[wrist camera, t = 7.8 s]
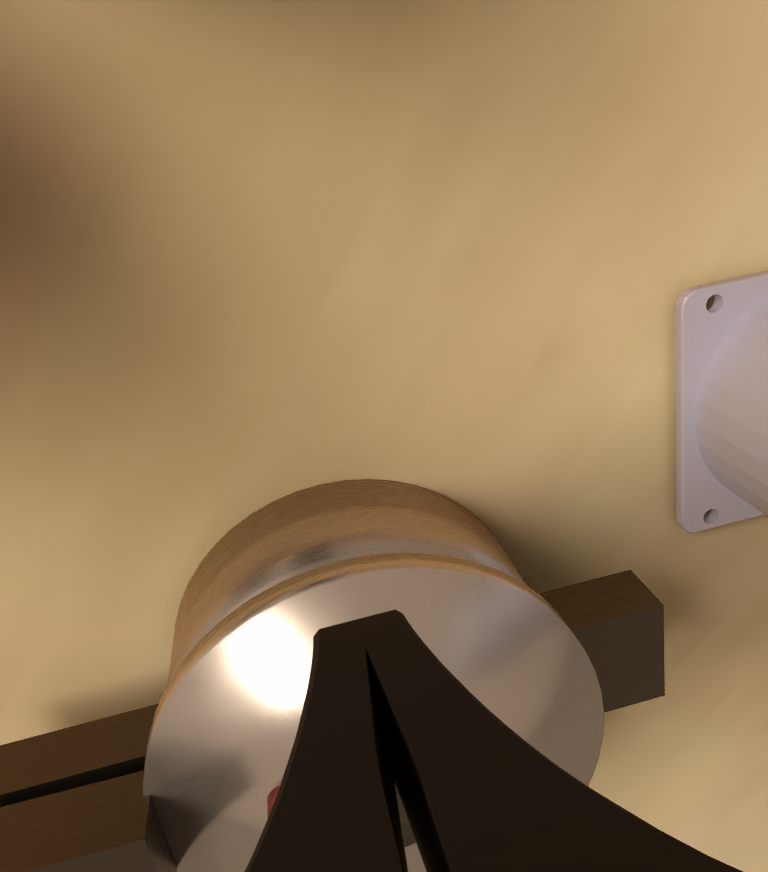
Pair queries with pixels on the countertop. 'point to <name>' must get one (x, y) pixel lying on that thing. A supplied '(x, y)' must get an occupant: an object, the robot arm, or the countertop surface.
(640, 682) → the pot
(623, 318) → the countertop surface
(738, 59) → the countertop surface
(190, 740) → the lid
